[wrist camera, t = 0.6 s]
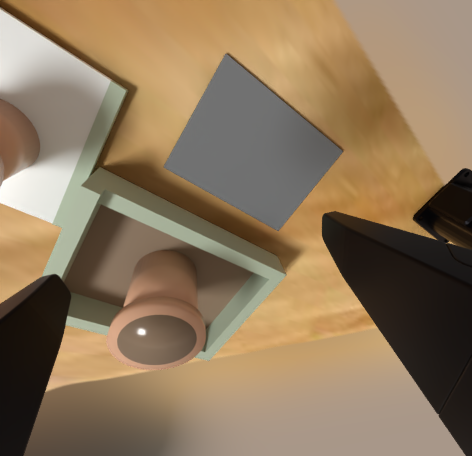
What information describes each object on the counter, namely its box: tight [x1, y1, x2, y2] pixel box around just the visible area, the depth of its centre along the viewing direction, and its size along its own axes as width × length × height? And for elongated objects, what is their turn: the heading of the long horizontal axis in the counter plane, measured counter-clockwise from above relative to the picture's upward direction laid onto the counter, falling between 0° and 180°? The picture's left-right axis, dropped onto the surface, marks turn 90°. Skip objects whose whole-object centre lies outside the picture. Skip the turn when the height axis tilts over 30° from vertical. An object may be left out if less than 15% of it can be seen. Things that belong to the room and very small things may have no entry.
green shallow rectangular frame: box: [42, 167, 286, 361], centre depth 24 cm, size 18×14×4 cm
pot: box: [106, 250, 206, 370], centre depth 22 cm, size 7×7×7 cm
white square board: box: [0, 7, 128, 228], centre depth 17 cm, size 10×12×1 cm
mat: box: [164, 54, 343, 231], centre depth 21 cm, size 12×9×1 cm
